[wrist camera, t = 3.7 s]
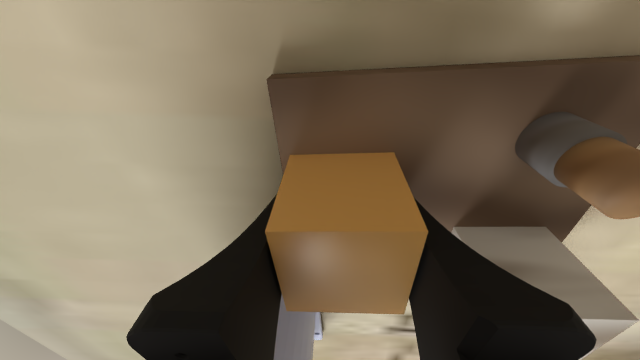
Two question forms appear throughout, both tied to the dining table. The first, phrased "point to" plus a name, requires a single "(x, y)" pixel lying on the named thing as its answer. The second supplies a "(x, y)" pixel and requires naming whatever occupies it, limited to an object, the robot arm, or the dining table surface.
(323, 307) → the kraft paper cube
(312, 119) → the board
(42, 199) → the dining table surface
